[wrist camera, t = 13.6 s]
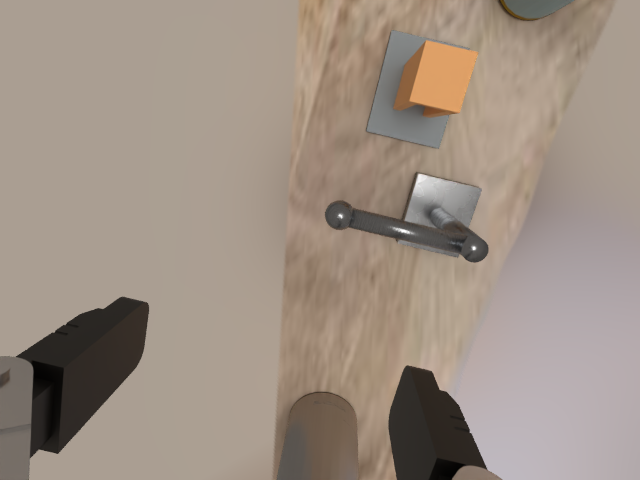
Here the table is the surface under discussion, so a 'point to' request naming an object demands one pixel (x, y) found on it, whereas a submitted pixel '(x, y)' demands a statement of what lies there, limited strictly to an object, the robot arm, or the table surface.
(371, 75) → the table surface
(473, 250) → the stand
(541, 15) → the bottle
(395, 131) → the mat
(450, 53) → the link
